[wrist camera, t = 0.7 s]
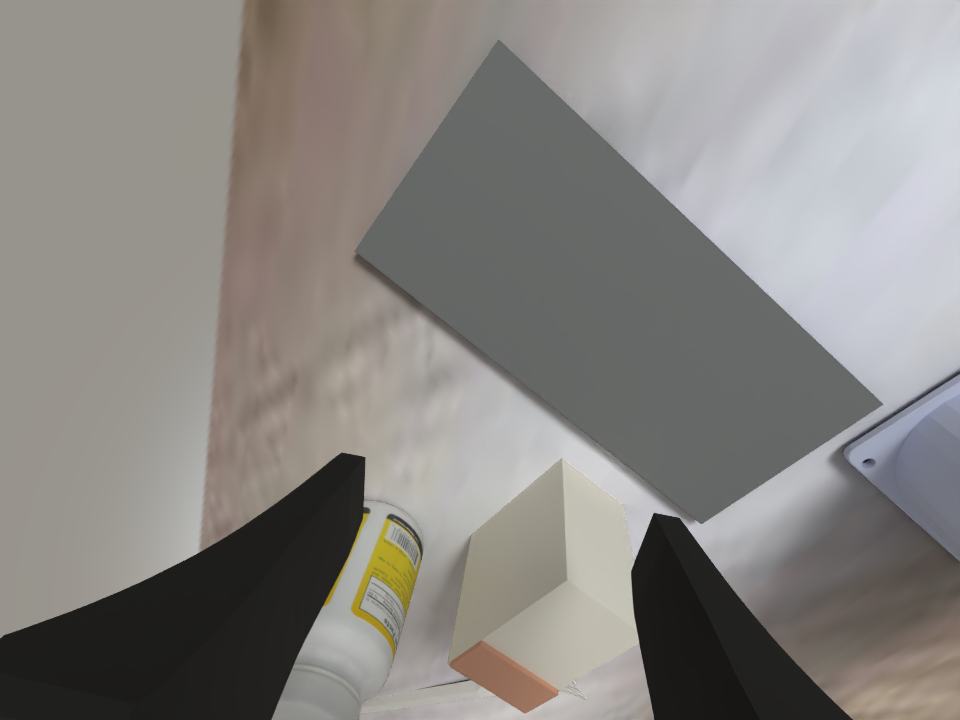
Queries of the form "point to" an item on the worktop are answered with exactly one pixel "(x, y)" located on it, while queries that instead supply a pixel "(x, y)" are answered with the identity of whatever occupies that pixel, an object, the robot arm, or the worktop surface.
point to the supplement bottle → (357, 622)
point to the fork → (440, 696)
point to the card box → (545, 590)
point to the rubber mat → (606, 297)
